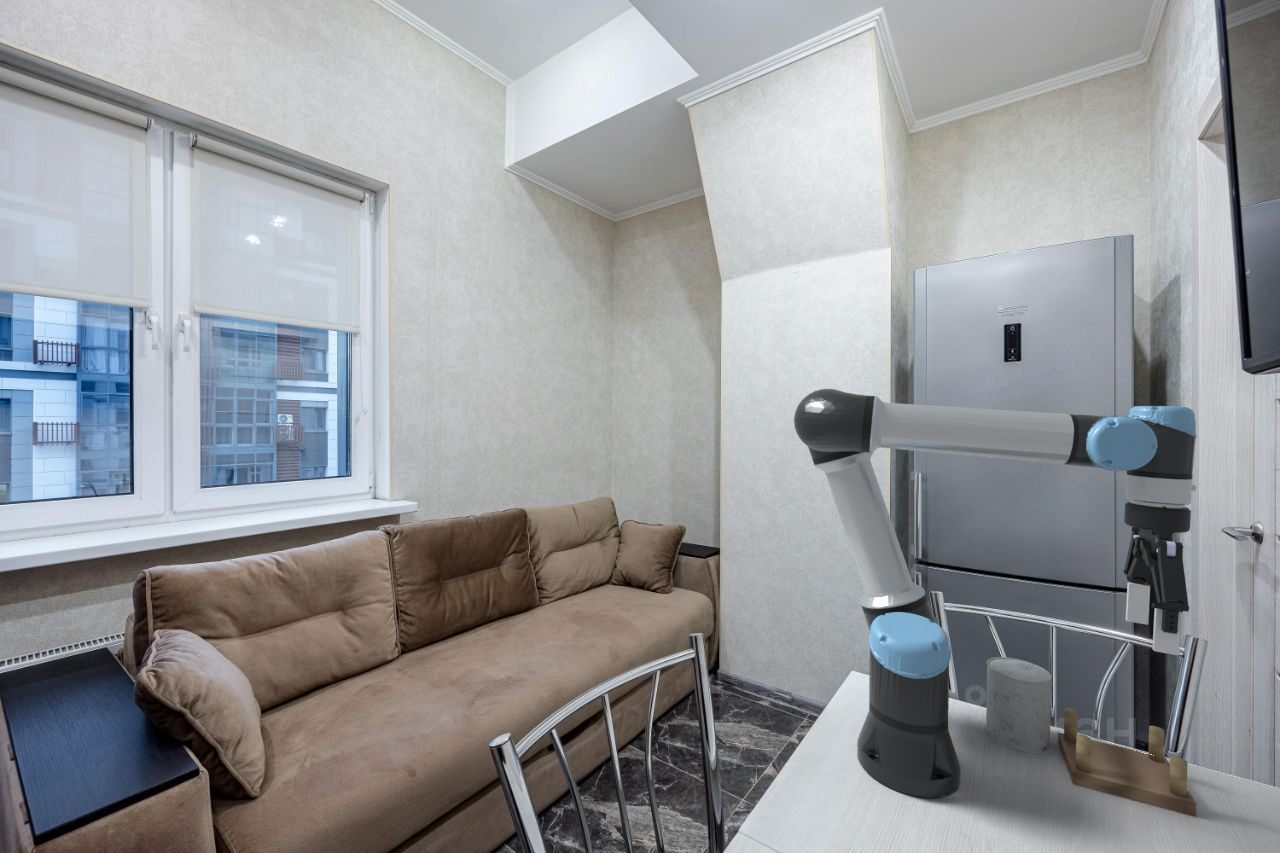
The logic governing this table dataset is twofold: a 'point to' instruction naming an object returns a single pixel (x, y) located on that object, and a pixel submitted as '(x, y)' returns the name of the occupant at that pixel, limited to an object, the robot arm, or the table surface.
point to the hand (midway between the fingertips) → (1150, 636)
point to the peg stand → (1126, 768)
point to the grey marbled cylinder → (1018, 704)
